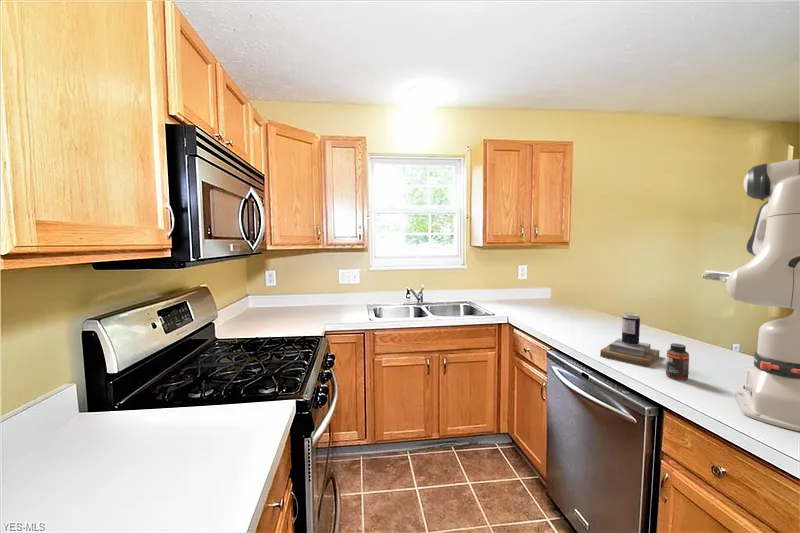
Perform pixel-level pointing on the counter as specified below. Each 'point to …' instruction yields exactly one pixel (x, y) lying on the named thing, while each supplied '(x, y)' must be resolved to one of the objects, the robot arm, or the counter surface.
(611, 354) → the plinth
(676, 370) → the supplement bottle
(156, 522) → the counter surface
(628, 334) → the beverage can
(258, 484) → the counter surface
